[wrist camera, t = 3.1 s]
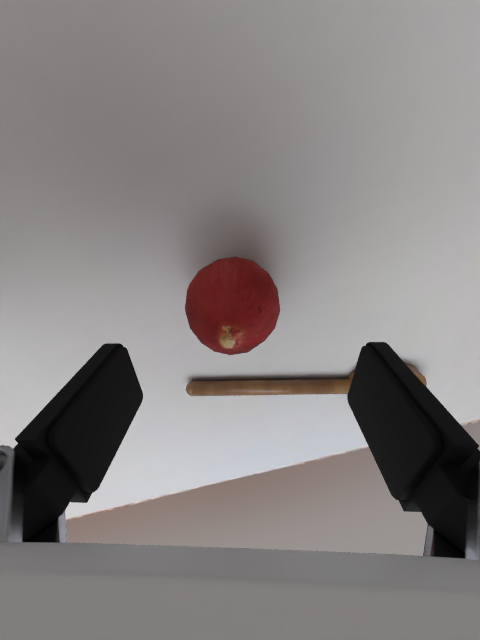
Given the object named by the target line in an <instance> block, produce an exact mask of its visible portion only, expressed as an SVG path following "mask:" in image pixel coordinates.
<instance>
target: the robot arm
mask: <svg viewBox="0 0 480 640" xmlns="http://www.w3.org/2000/svg"><path fill="white" fill-rule="evenodd" d="M347 398H348V403H349V405H350V407H351V409H352V411H353V414H354V416H355V418H356V420H357V422H358V424H359V426H360V429H361V431H362V433H363V435H364V437H365V439H366V441H367V444H368V446H369V448H370V450H371V452H372V454H373V456H374V458H375V461H376V463H377V465H378V467H379V469H380V471H381V473H382V476H383V478H384V480H385V482H386V484H387V486H388V489H389V491H390V493H391V495H392V496H393V497H394V498H395V499H396V500H399V502H400V504H401V506H402V508H403V510H404V511H413V512H422V514H423V516H424V518H425V519H426V521H427V523H428V526H427V534H426V540H425V546H424V553H423V556H413V555H397V554H376V553H351V552H327V551H302V550H277V549H249V548H221V547H191V546H190V547H189V546H162V545H128V544H97V543H96V544H95V543H67V531H66V519H65V509H66V507H67V506H68V504H69V502H82V503H87V502H88V500H89V498H90V496H91V494H92V492H95V491H96V490H97V489H98V488H99V486H100V484H101V482H102V480H103V478H104V476H105V474H106V472H107V470H108V468H109V466H110V464H111V462H112V460H113V458H114V456H115V454H116V452H117V450H118V448H119V446H120V444H121V442H122V440H123V438H124V436H125V434H126V432H127V430H128V428H129V426H130V424H131V422H132V420H133V418H134V416H135V414H136V412H137V410H138V408H139V406H140V404H141V402H142V399H143V393H142V390H141V387H140V384H139V381H138V379H137V376H136V373H135V370H134V367H133V365H132V362H131V359H130V356H129V353H128V350H127V348H125V347H123V345H121V344H104V345H103V346H102V347H101V348H100V349H99V350H98V351H97V352H96V353H95V354H94V355H93V356H92V357H91V358H90V359H89V360H88V361H87V363H86V364H85V365H84V366H83V367H82V368H81V369H80V370H79V371H78V372H77V373H76V374H75V375H74V376H73V377H72V379H71V380H70V381H69V382H68V383H67V384H66V385H65V386H64V387H63V388H62V389H61V390H60V391H59V392H58V393H57V395H56V396H55V397H54V398H53V399H52V400H51V401H50V402H49V403H48V404H47V405H46V406H45V407H44V408H43V410H42V411H41V412H40V413H39V414H38V415H37V416H36V417H35V418H34V419H33V420H32V421H31V422H30V423H29V424H28V426H27V427H26V428H25V429H24V430H23V431H22V432H21V433H20V434H19V435H18V436H17V437H16V438H15V440H16V441H17V442H18V444H17V445H16V446H15V448H14V449H12V448H11V447H10V446H4V445H2V446H0V640H480V451H479V450H478V449H477V448H478V447H479V445H478V444H477V443H476V442H475V441H474V440H473V438H472V437H471V436H470V435H469V434H468V433H467V432H466V431H465V430H464V429H463V427H462V426H461V425H460V424H459V423H458V422H457V421H456V420H455V418H454V417H453V416H452V415H451V414H450V413H449V412H448V411H447V410H446V408H445V407H444V406H443V405H442V404H441V403H440V402H439V401H438V400H437V398H436V397H435V396H434V395H433V394H432V393H431V392H430V391H429V389H428V388H427V387H426V386H425V385H424V384H423V383H422V382H421V381H420V379H419V378H418V377H417V376H416V375H415V374H414V373H413V372H412V371H411V369H410V368H409V367H408V366H407V365H406V364H405V363H404V362H403V361H402V359H401V358H400V357H399V356H398V355H397V354H396V353H395V352H394V351H393V349H392V348H391V347H390V346H389V345H388V344H387V343H385V342H369V343H367V344H366V346H363V347H362V349H361V352H360V355H359V358H358V362H357V365H356V368H355V371H354V375H353V378H352V381H351V385H350V388H349V391H348V397H347Z"/></svg>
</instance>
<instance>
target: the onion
mask: <svg viewBox="0 0 480 640" xmlns="http://www.w3.org/2000/svg"><path fill="white" fill-rule="evenodd" d="M185 311H186V315H187V319H188V322H189V326H190V329H191V330H192V331H193V333H194V334H195V335H196V336H197V338H198V339H199V340H200V342H201V343H202V344H204V345H205V346H207V347H209V348H210V349H212V350H213V351H215V352H219V353H224V354H228V355H234V354H240V353H247V352H249V351H250V350H252V349H253V348H255V347H256V346H258V345H259V344H260V343H262V342H264V341H265V339H266V338H267V337H268V336H269V335H270V334H271V332H272V331H273V330H274V329H275V326H276V322H277V319H278V316H279V312H280V305H279V298H278V290H277V287H276V286H275V284H274V282H273V280H272V278H271V277H270V275H269V273H268V272H267V271H265V270H264V269H263V268H261V267H260V266H259V265H258V264H256V263H255V262H254V261H251V260H247V259H243V258H238V257H231V258H225V259H218V260H216V261H215V262H213V263H211V264H210V265H208V266H206V267H204V268H203V269H201V270H200V271H199V272H198V273H197V275H196V276H195V277H194V279H193V280H192V282H191V283H190V285H189V287H188V290H187V297H186V305H185Z"/></svg>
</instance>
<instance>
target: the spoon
mask: <svg viewBox="0 0 480 640" xmlns="http://www.w3.org/2000/svg"><path fill="white" fill-rule="evenodd" d="M406 365H407V366H408V367H409V368H410V369H411V371H412V372H413V373H414V374H415V375H416V376H417V377H418V378H419V379H420V381H421V382H422V383H423V384H424V385H425V386H426V379H425V377H424V376H423V375H422V374H421V373H420V372H419V371H418V370H417V369H416V368H415V367H414V366H412V365H409V364H406ZM354 371H355V370H354ZM354 371H353V372H352V373H351V374H350V375H349V377H348V379H299V380H236V381H192V382H190V383H188V385H187V387H186V391H187V393H188V394H189V395H190V396H229V395H298V394H348V391H349V388H350V385H351V381H352V378H353V375H354Z"/></svg>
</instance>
